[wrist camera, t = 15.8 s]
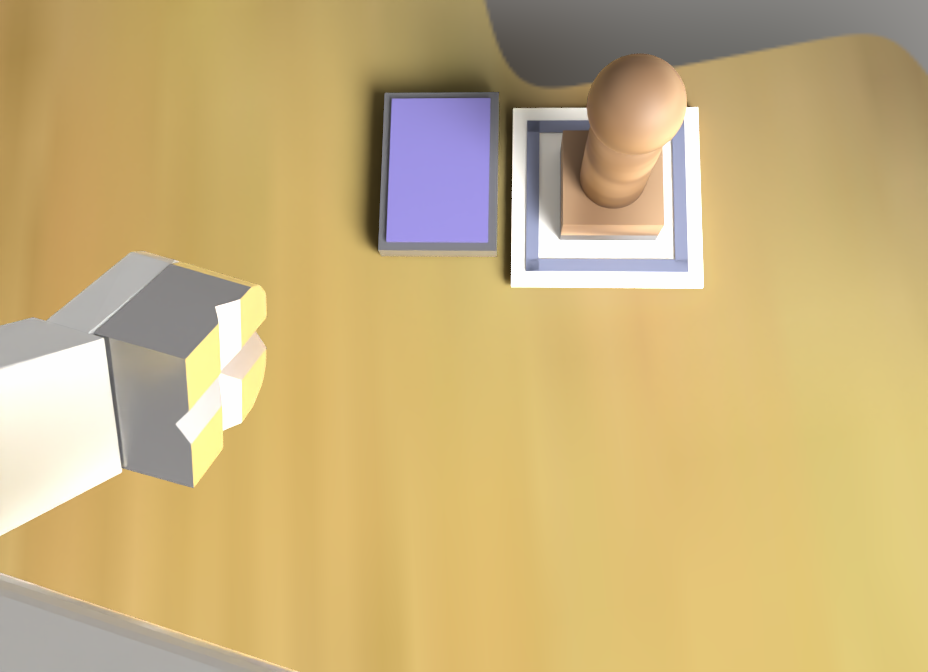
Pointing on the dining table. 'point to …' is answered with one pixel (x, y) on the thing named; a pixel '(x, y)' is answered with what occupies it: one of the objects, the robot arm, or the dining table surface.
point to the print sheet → (600, 261)
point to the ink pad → (439, 174)
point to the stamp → (621, 152)
